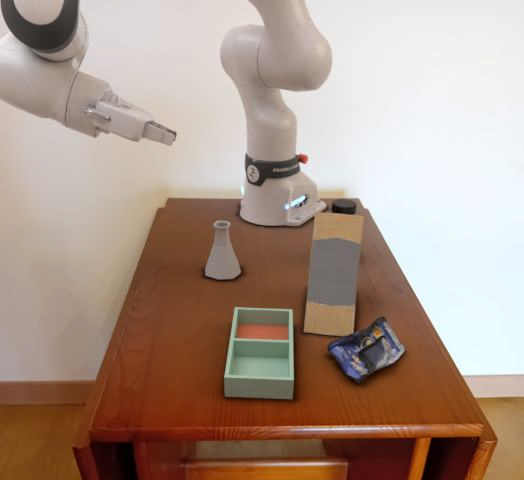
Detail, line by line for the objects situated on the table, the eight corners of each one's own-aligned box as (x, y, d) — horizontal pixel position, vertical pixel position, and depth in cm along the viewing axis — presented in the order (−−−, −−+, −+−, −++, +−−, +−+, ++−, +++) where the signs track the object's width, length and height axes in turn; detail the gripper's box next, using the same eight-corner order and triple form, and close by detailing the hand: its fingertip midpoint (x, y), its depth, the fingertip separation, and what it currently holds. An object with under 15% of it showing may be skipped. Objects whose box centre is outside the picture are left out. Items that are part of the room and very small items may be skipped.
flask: (236, 282, 102) (236, 233, 96) (199, 278, 103) (197, 229, 97) (245, 265, 108) (245, 218, 102) (210, 262, 109) (208, 214, 103)
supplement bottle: (328, 268, 108) (335, 210, 101) (315, 254, 113) (320, 198, 106) (359, 264, 110) (368, 207, 103) (345, 250, 115) (352, 195, 108)
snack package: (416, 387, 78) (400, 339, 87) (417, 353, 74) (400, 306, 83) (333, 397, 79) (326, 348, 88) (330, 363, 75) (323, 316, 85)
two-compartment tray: (234, 324, 90) (234, 307, 88) (291, 327, 90) (292, 309, 88) (224, 396, 75) (224, 377, 73) (292, 399, 75) (293, 380, 73)
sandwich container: (301, 332, 89) (308, 249, 80) (308, 288, 101) (314, 211, 92) (354, 337, 88) (366, 253, 79) (354, 291, 100) (364, 214, 91)
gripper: (84, 85, 77) (177, 122, 80) (107, 88, 96) (182, 118, 99) (74, 129, 79) (165, 163, 82) (99, 124, 98) (172, 152, 101)
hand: (174, 139), depth 91 cm, fingers open, 8 cm apart
